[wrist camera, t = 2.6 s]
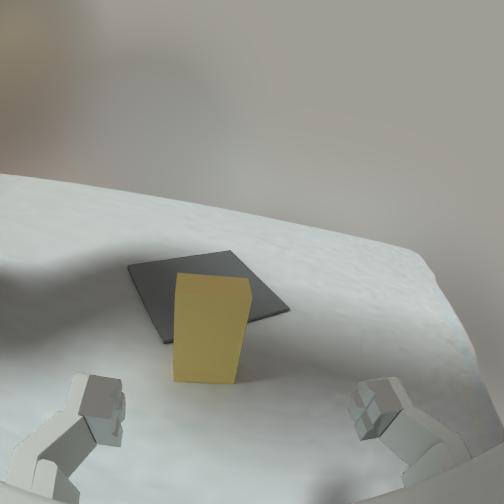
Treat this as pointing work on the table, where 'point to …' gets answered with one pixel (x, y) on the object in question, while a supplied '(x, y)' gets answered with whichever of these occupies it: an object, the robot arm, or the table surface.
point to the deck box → (209, 327)
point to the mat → (216, 264)
